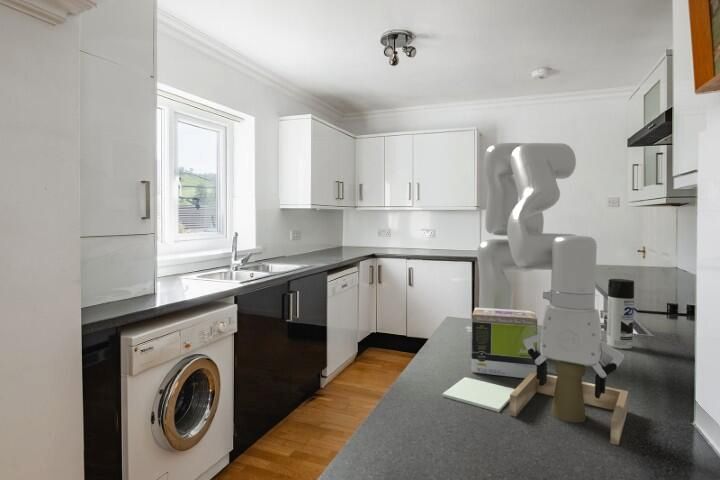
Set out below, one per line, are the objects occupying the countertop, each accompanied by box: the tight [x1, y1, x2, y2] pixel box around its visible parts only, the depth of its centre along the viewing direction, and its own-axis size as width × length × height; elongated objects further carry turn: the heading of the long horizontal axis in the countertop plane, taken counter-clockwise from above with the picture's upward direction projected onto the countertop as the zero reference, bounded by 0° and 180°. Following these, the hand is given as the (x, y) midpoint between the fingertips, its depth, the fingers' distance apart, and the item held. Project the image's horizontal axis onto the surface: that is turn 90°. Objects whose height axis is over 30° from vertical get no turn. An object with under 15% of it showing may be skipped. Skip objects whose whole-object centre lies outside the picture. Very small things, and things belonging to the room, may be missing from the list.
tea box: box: [470, 306, 538, 379], centre depth 106 cm, size 15×10×15 cm
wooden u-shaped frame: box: [509, 371, 629, 446], centre depth 83 cm, size 18×16×4 cm
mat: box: [441, 376, 516, 413], centre depth 92 cm, size 12×12×1 cm
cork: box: [550, 360, 587, 424], centre depth 82 cm, size 6×6×11 cm
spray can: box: [606, 278, 635, 350], centre depth 127 cm, size 7×7×20 cm
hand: (569, 389), depth 82 cm, fingers open, 9 cm apart
